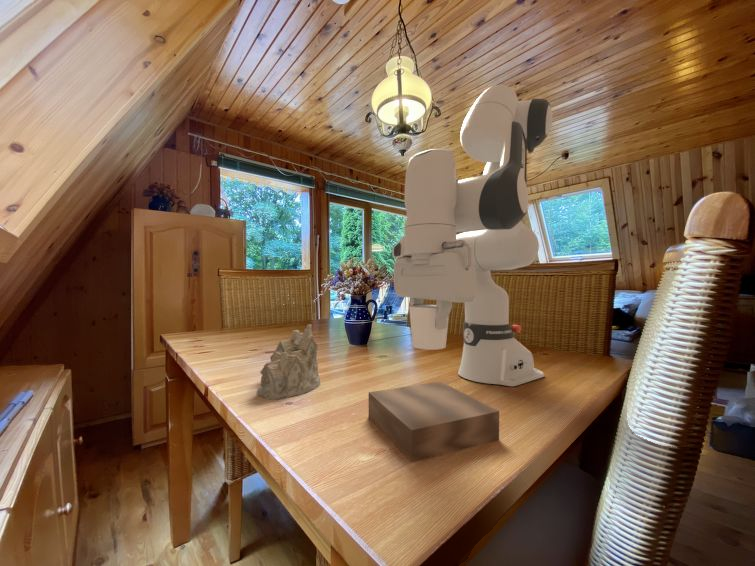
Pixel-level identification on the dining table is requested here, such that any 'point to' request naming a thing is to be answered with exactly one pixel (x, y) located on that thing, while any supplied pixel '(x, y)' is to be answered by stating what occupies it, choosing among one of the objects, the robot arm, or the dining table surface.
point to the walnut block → (432, 419)
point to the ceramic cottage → (291, 367)
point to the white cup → (426, 328)
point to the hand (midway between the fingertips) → (429, 325)
